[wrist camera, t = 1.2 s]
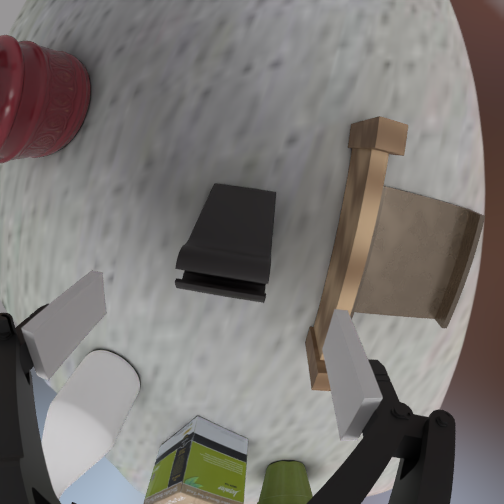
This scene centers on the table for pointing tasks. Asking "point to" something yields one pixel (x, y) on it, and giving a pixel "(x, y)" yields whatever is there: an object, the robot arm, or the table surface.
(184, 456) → the tea box
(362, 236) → the door pull handle
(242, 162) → the table surface
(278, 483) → the plant pot
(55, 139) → the canister
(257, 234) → the phone stand
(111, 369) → the wine bottle
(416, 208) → the keeper plate
